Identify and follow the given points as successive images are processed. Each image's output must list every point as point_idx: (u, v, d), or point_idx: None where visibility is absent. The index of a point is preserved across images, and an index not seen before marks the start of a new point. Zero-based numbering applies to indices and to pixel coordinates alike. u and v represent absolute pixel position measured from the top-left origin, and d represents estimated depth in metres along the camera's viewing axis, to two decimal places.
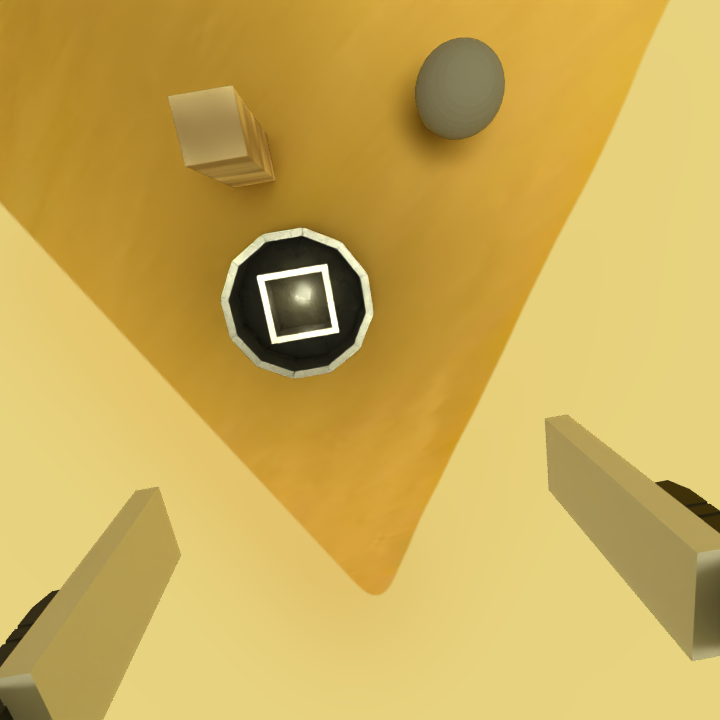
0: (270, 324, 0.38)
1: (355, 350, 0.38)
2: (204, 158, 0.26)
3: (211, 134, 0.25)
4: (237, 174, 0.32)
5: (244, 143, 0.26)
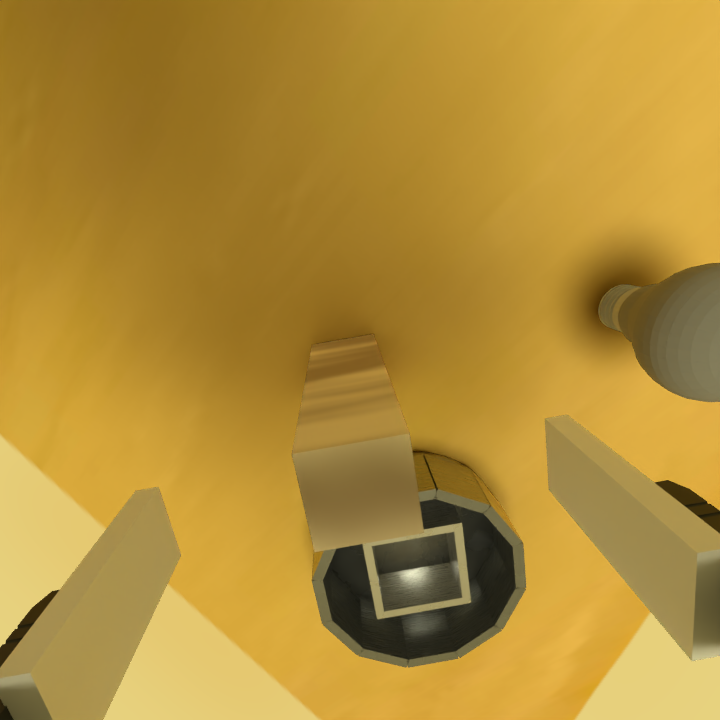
0: (376, 596, 0.27)
1: (496, 632, 0.27)
2: (348, 539, 0.15)
3: (365, 506, 0.14)
4: None
5: (420, 514, 0.15)
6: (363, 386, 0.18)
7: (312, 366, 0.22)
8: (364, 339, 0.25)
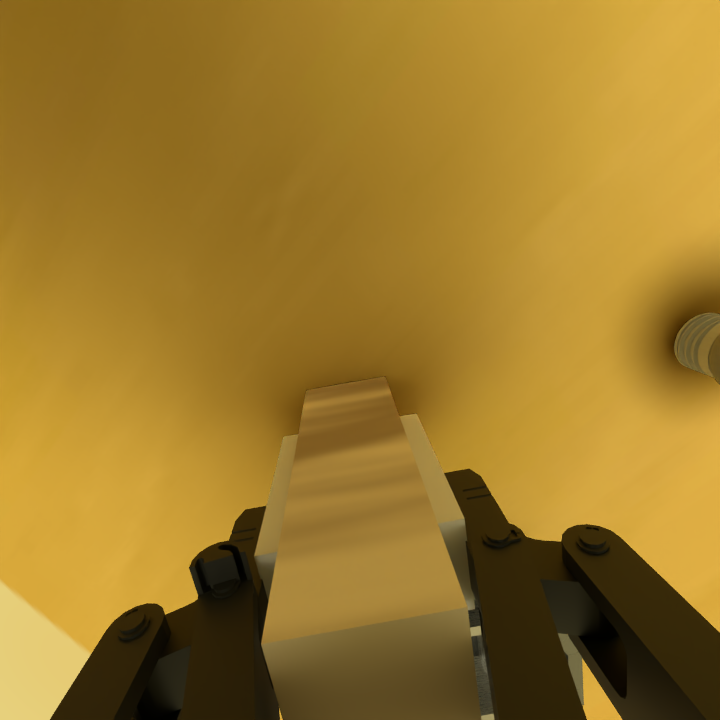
0: None
1: None
2: None
3: (388, 719, 0.08)
4: None
5: None
6: (378, 476, 0.12)
7: (305, 429, 0.16)
8: (374, 385, 0.19)
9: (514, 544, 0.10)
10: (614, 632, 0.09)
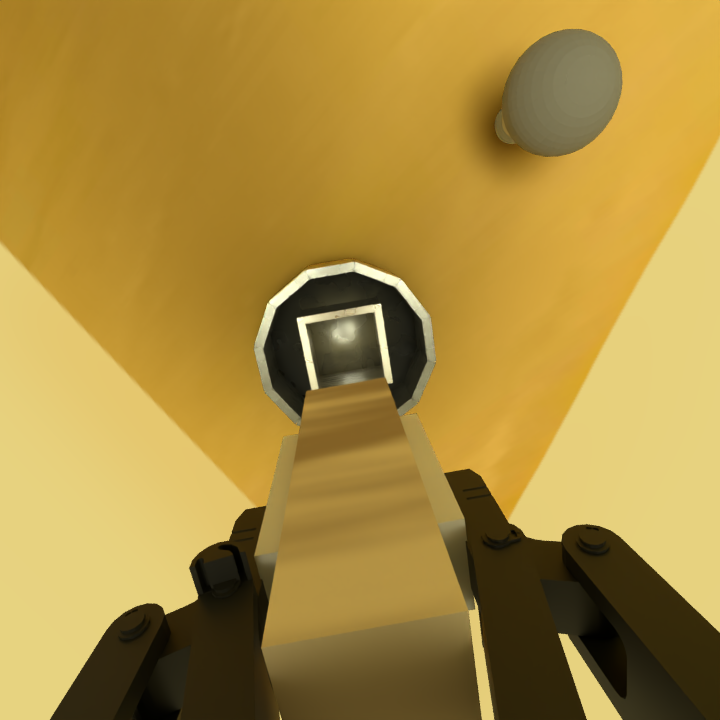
0: (311, 374, 0.32)
1: (413, 405, 0.32)
2: None
3: None
4: None
5: None
6: (378, 478, 0.12)
7: (305, 431, 0.16)
8: (374, 386, 0.19)
9: (514, 544, 0.10)
10: (614, 632, 0.09)
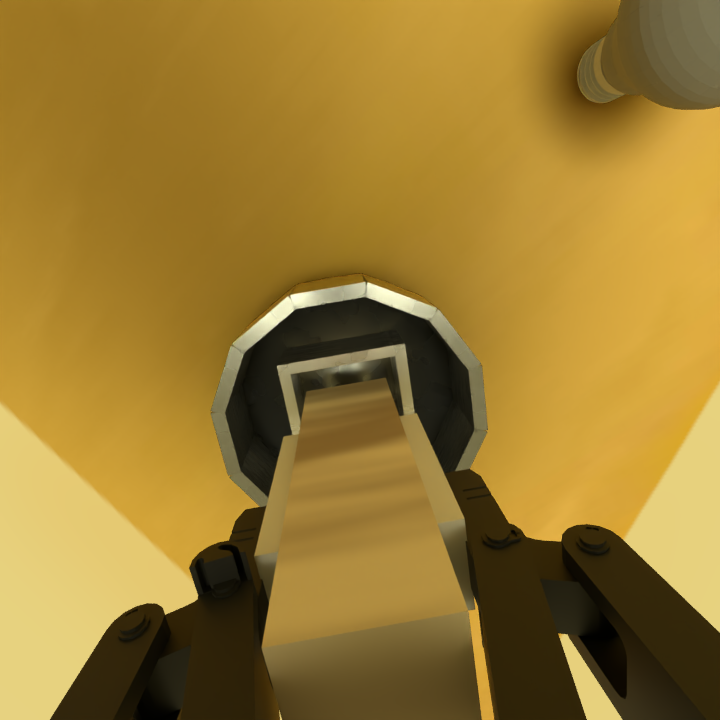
0: None
1: None
2: None
3: None
4: None
5: None
6: (378, 478, 0.12)
7: (305, 431, 0.16)
8: (374, 386, 0.19)
9: (514, 544, 0.10)
10: (614, 632, 0.09)
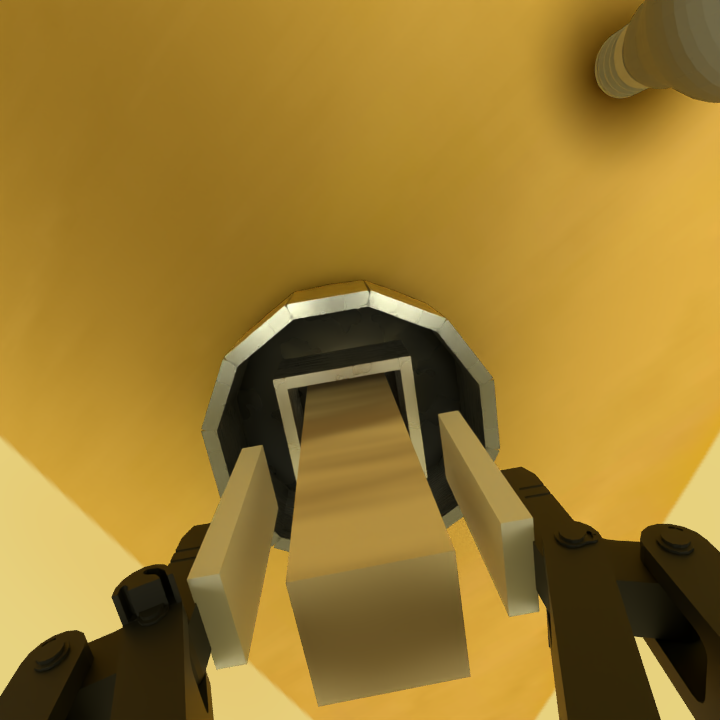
0: (298, 466, 0.20)
1: (460, 515, 0.20)
2: (365, 688, 0.10)
3: (389, 645, 0.10)
4: None
5: None
6: (377, 452, 0.14)
7: (310, 414, 0.18)
8: (371, 374, 0.21)
9: (589, 546, 0.09)
10: (694, 637, 0.09)
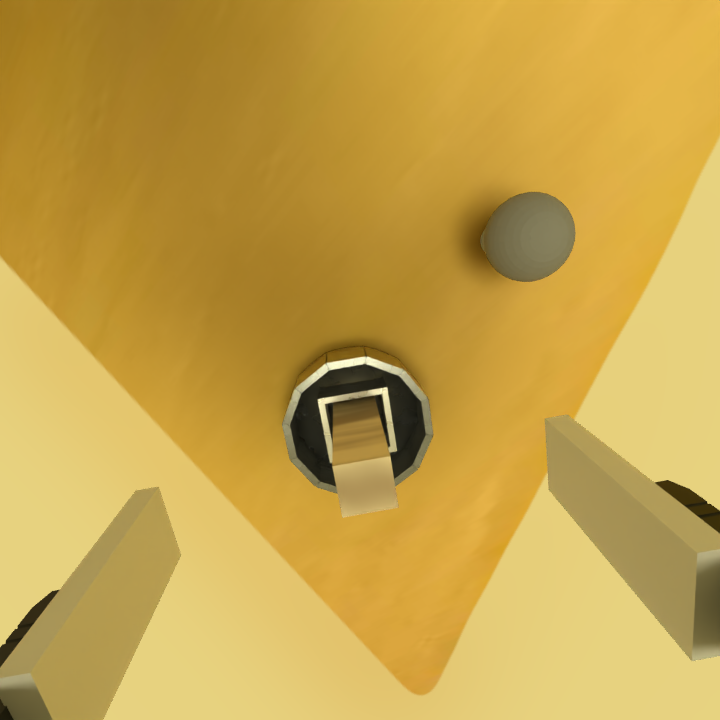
0: (329, 444, 0.38)
1: (414, 470, 0.38)
2: (359, 510, 0.29)
3: (368, 492, 0.28)
4: None
5: (396, 497, 0.29)
6: (367, 429, 0.32)
7: (335, 415, 0.36)
8: None
9: None
10: None
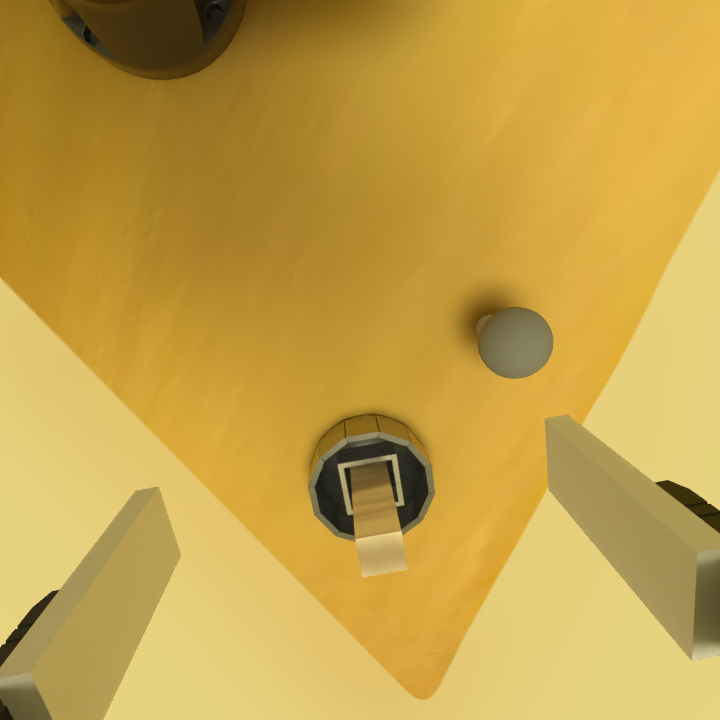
0: (347, 500, 0.45)
1: (418, 522, 0.45)
2: (376, 572, 0.36)
3: (383, 558, 0.35)
4: None
5: (405, 561, 0.36)
6: (380, 498, 0.39)
7: (353, 479, 0.43)
8: None
9: None
10: None
